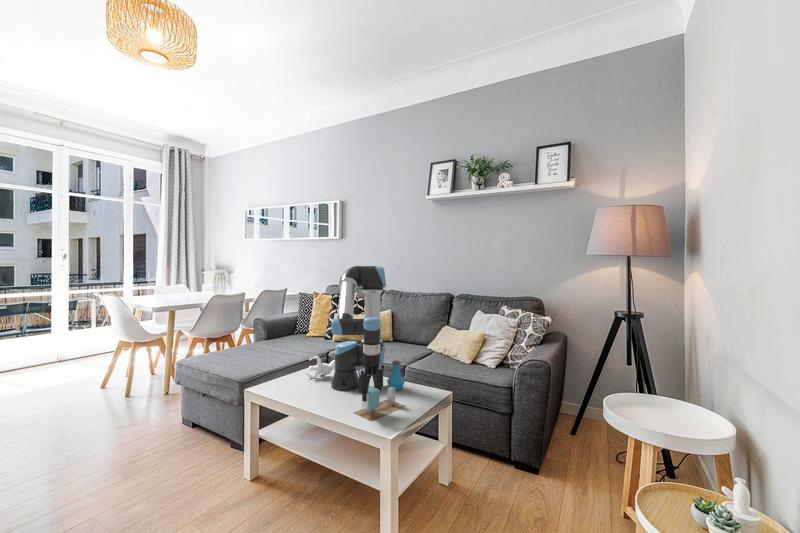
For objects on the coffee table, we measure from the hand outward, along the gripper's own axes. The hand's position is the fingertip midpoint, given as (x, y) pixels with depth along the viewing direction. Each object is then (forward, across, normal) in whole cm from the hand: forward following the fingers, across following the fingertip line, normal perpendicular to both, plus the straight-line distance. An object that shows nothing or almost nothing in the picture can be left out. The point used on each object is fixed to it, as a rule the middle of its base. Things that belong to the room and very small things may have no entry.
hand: (370, 406), depth 159 cm
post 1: (+3, 0, 0) cm, 3 cm away
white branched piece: (+4, +17, +58) cm, 60 cm away
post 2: (+3, +13, 0) cm, 13 cm away
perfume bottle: (+4, +31, +14) cm, 34 cm away
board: (+4, +6, 0) cm, 7 cm away
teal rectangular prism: (0, 0, 0) cm, 0 cm away
